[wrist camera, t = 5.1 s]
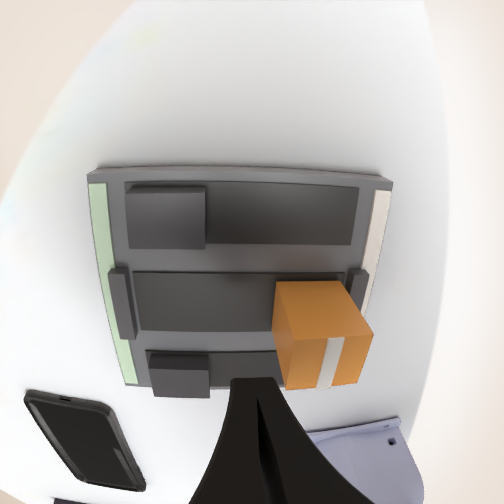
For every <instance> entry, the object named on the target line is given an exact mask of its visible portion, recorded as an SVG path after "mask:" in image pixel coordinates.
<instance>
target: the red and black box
mask: <svg viewBox="0 0 504 504" xmlns="http://www.w3.org/2000/svg"><path fill="white" fill-rule="evenodd" d="M54 504H85V503H79V502H73V501H68V500H62V499H57V498H55V500H54Z"/></svg>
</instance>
